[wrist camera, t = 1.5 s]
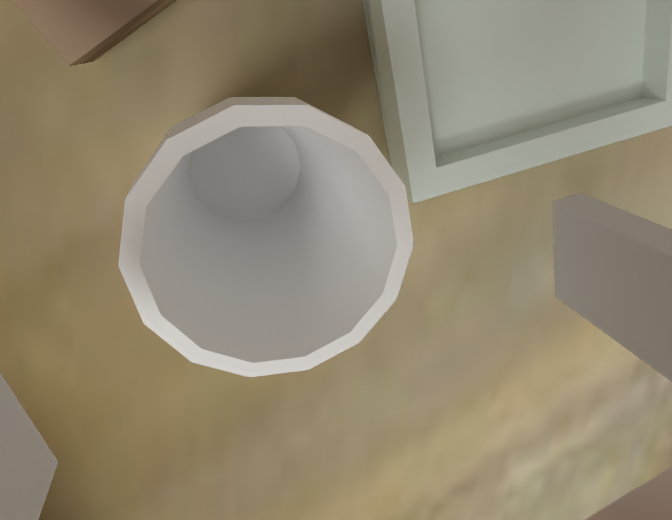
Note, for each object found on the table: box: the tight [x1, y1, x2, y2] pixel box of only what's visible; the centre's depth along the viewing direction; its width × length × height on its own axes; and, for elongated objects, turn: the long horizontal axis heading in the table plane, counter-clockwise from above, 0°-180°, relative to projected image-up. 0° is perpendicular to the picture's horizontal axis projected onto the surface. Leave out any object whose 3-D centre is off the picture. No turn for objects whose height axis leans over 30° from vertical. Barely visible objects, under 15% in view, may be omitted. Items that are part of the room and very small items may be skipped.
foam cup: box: [118, 97, 414, 377], centre depth 22 cm, size 10×9×13 cm
